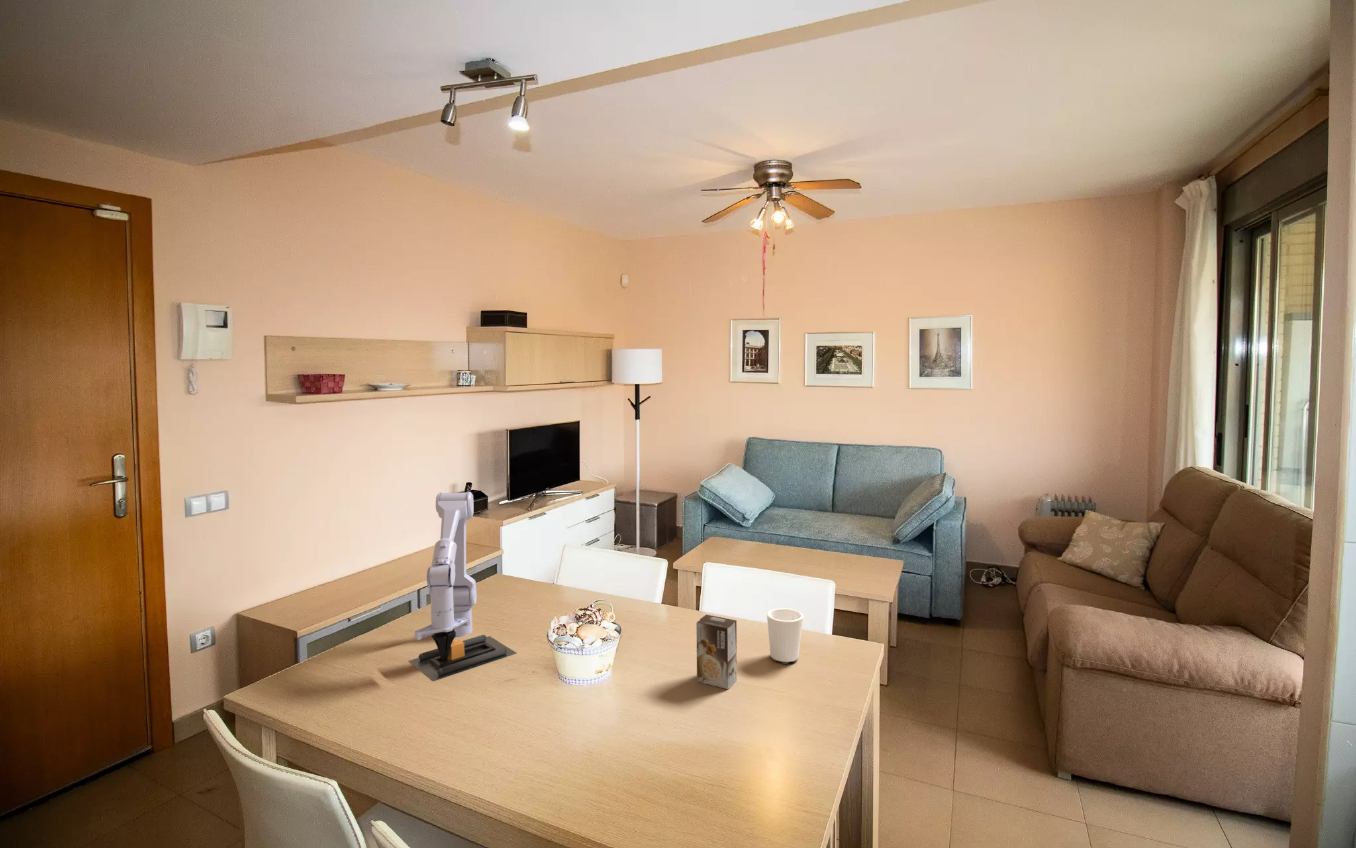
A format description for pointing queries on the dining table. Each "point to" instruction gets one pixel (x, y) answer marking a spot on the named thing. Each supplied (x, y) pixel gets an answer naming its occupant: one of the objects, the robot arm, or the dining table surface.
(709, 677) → the coffee box
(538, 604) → the dining table surface
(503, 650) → the grey rails and frame
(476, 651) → the plate
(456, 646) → the orange rectangular box
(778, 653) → the cup
